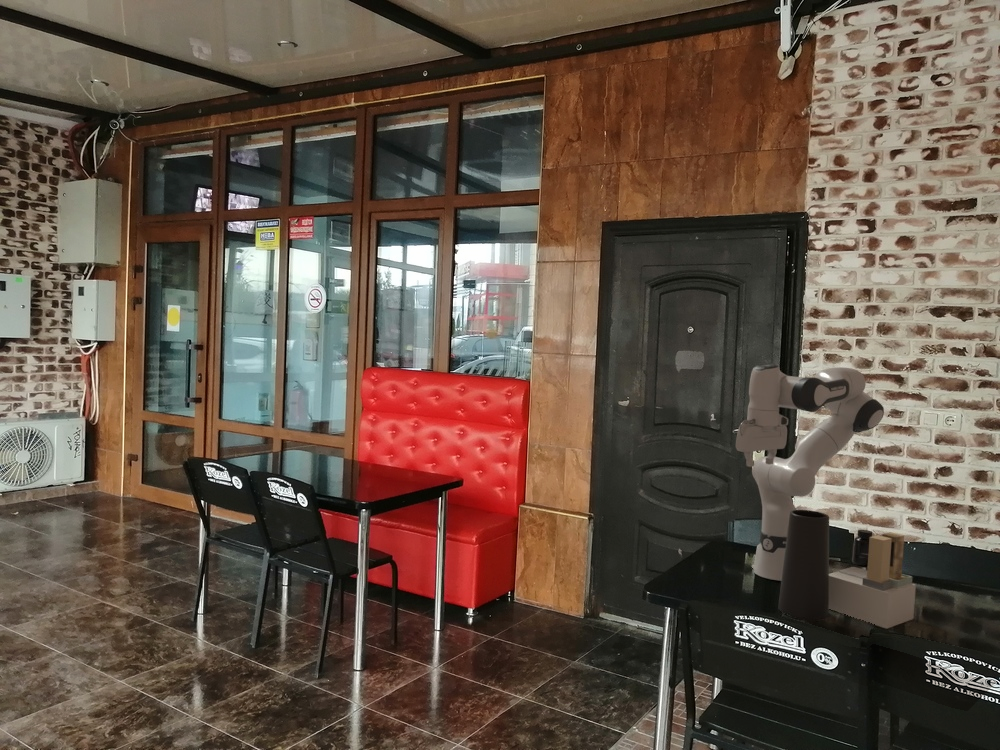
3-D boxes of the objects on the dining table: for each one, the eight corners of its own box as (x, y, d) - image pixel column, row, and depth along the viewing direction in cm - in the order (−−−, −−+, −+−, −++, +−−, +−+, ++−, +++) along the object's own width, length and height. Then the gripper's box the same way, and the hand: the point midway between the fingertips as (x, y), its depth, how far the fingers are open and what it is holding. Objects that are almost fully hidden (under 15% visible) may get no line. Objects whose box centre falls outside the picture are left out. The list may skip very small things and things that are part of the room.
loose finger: (885, 576, 236) (888, 531, 236) (905, 582, 232) (909, 535, 231) (874, 579, 233) (877, 533, 232) (895, 585, 228) (898, 538, 227)
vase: (769, 610, 234) (775, 512, 232) (791, 600, 243) (797, 506, 242) (815, 624, 224) (822, 521, 222) (836, 613, 234) (843, 515, 232)
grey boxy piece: (850, 599, 247) (856, 522, 246) (913, 618, 232) (919, 536, 230) (823, 607, 238) (828, 527, 237) (886, 628, 223) (892, 543, 221)
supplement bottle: (864, 567, 282) (866, 534, 281) (847, 562, 288) (850, 529, 287) (877, 565, 285) (879, 532, 285) (860, 560, 291) (863, 527, 291)
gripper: (750, 421, 230) (747, 469, 230) (792, 419, 242) (789, 464, 243) (731, 418, 235) (729, 465, 235) (773, 416, 247) (770, 461, 248)
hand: (759, 465), depth 239 cm, fingers open, 8 cm apart
